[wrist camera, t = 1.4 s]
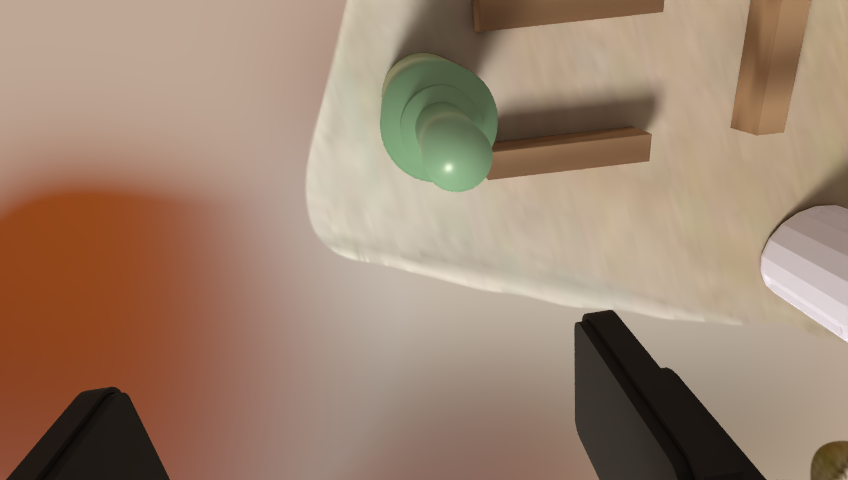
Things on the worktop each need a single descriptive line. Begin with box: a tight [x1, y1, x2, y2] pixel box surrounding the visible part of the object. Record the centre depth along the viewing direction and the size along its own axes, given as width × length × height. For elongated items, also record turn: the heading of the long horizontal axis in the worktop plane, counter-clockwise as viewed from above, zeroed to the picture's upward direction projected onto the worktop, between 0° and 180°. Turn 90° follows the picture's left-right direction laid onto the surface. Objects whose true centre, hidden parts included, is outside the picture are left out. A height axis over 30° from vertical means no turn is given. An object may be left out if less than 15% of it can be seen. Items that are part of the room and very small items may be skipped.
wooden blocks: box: [472, 0, 811, 180], centre depth 34 cm, size 12×22×3 cm, turn 96°
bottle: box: [380, 53, 498, 192], centre depth 27 cm, size 6×6×19 cm
